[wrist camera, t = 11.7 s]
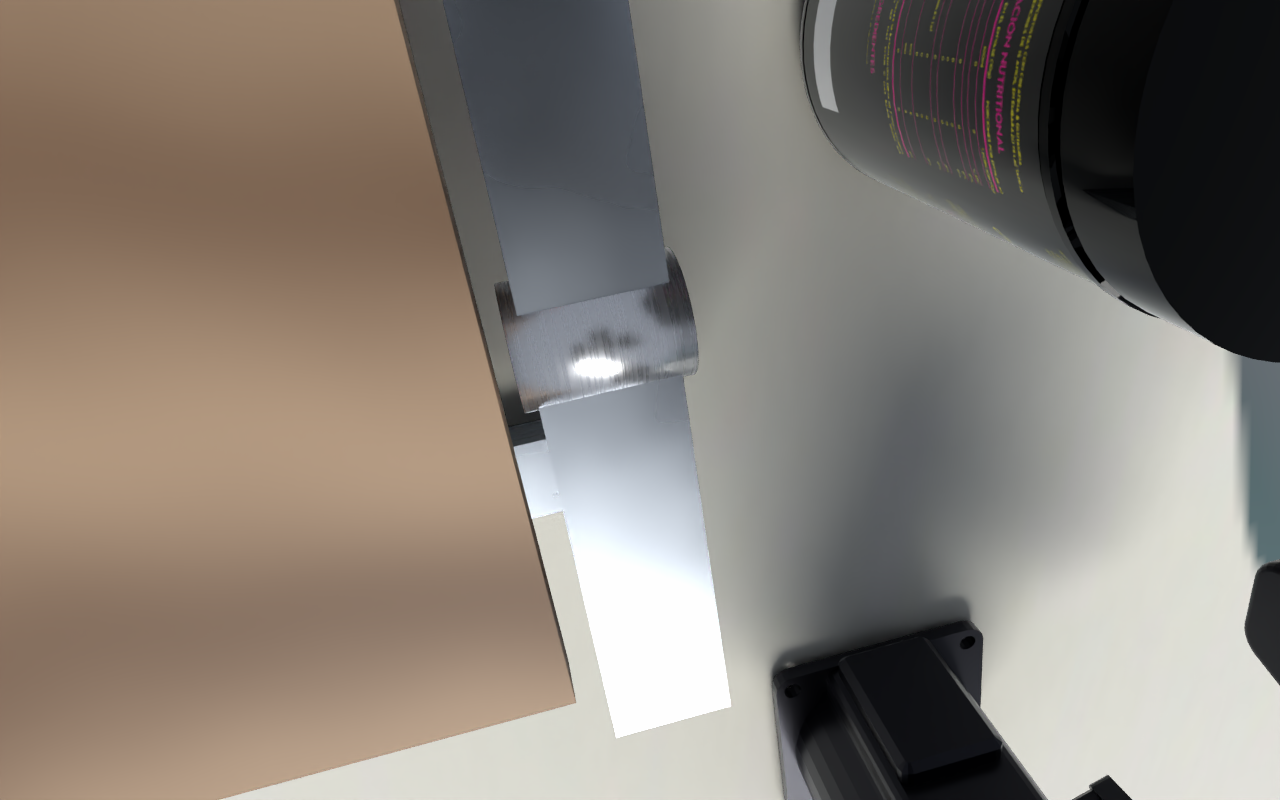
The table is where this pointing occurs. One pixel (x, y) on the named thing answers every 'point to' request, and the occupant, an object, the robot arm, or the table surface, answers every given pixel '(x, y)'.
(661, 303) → the trapdoor stand
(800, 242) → the table surface
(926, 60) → the supplement container
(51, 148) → the trapdoor
